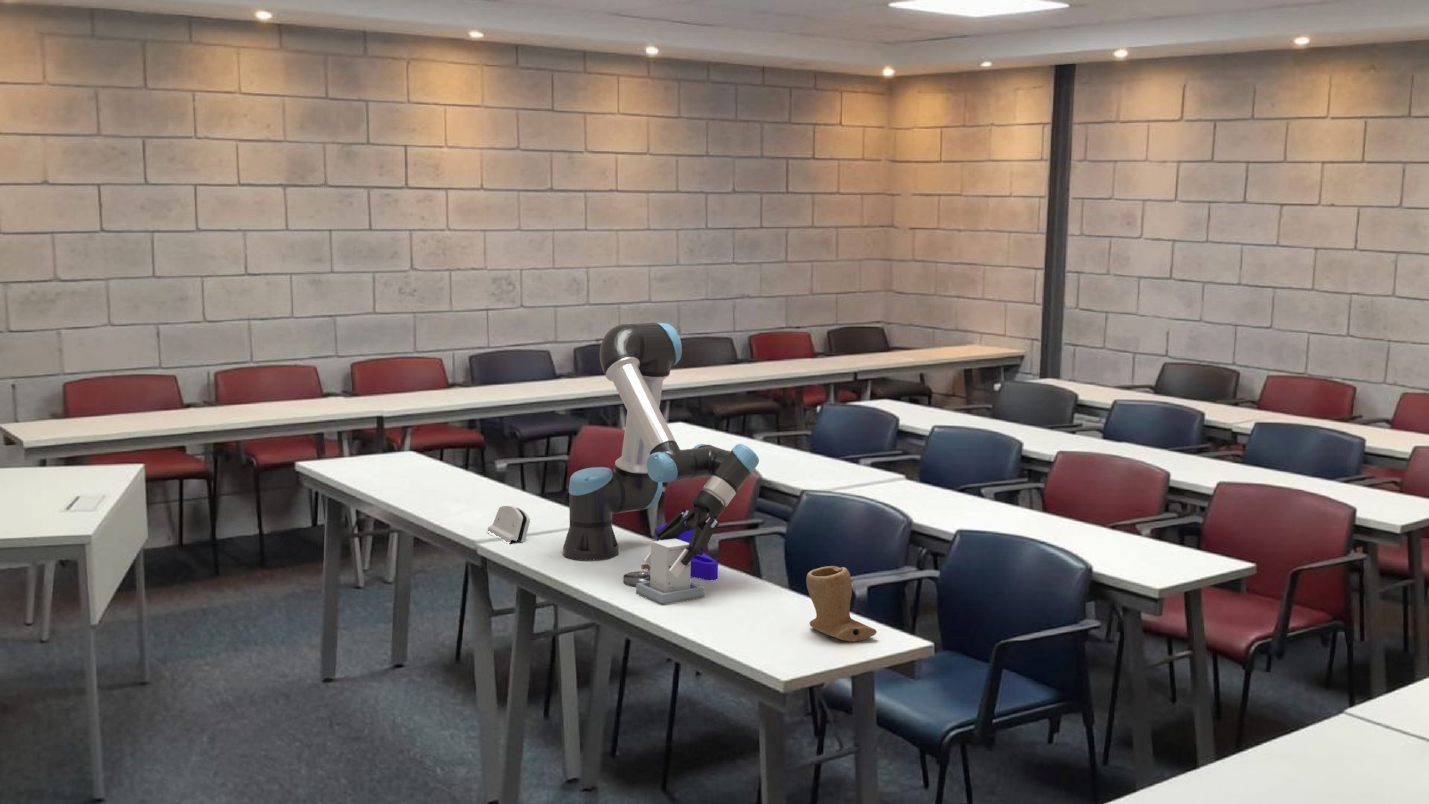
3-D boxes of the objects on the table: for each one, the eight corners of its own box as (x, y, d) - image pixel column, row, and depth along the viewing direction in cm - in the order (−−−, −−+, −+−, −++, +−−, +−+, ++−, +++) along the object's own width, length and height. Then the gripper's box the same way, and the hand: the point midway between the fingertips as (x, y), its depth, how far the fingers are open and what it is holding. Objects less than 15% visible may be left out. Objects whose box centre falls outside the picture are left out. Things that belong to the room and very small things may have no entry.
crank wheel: (615, 580, 328) (616, 559, 327) (649, 574, 334) (649, 554, 333) (636, 589, 320) (636, 567, 319) (670, 583, 325) (670, 562, 325)
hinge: (485, 532, 378) (496, 500, 379) (500, 536, 381) (510, 503, 381) (508, 544, 364) (519, 510, 365) (523, 548, 367) (533, 514, 367)
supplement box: (665, 598, 310) (666, 547, 308) (649, 591, 316) (649, 540, 314) (691, 594, 314) (692, 543, 312) (674, 587, 320) (675, 537, 318)
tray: (636, 593, 316) (636, 583, 316) (676, 586, 323) (676, 576, 323) (662, 605, 306) (662, 595, 306) (704, 597, 313) (704, 587, 313)
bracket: (656, 568, 340) (657, 525, 339) (689, 562, 347) (690, 519, 345) (698, 583, 326) (698, 538, 325) (731, 577, 333) (732, 532, 331)
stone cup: (795, 628, 289) (796, 563, 287) (840, 622, 295) (841, 558, 293) (831, 648, 276) (833, 580, 274) (877, 640, 281) (879, 574, 280)
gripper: (749, 516, 312) (695, 588, 305) (696, 499, 330) (644, 567, 323) (732, 497, 308) (677, 570, 301) (679, 481, 327) (626, 549, 320)
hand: (660, 568), depth 312 cm, fingers open, 10 cm apart
